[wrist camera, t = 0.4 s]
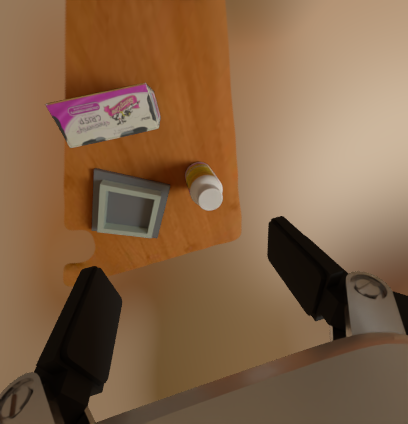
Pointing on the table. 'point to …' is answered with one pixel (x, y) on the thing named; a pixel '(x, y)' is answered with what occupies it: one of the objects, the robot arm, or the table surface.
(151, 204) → the tray
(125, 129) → the candy bar box
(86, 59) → the table surface
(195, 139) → the table surface
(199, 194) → the supplement bottle
